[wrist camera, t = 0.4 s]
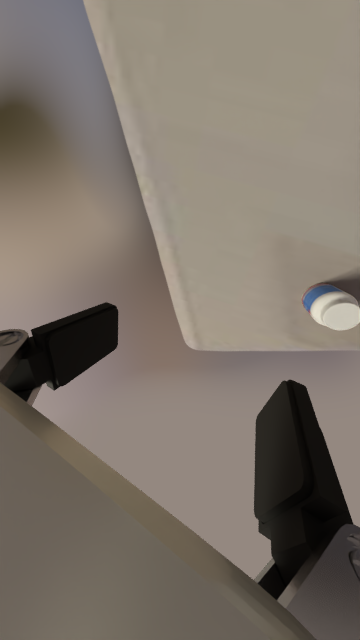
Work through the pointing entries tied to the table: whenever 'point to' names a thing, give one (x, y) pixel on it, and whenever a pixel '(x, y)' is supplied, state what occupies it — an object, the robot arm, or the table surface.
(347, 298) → the pill bottle
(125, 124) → the table surface
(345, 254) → the table surface
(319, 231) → the table surface
